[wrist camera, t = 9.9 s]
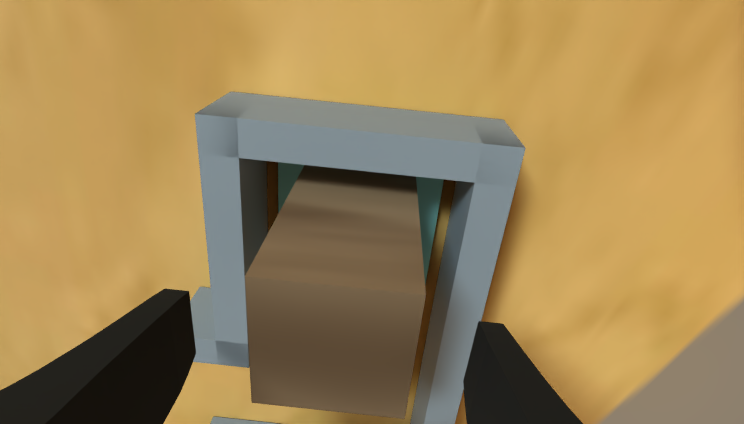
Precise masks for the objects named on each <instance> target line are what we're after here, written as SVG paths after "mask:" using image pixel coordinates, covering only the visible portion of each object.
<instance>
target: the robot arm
mask: <svg viewBox="0 0 744 424" xmlns="http://www.w3.org/2000/svg"><path fill="white" fill-rule="evenodd" d="M195 355H196V347H195V338H194V330H193V321H192V313H191V304H190V296H189V291H182V290H172V289H163V290H162V291H160V292H159V293H157V294H155V295H154V296H152V297H151V298H149V299H148V300H146V301H145V302H143V303H142V304H140V305H139V306H138V307H136V308H135V309H133V310H132V311H130V312H129V313H127V314H126V315H124V316H123V317H121V318H120V319H118V320H117V321H115V322H114V323H112V324H111V325H109V326H108V327H106V328H105V329H103V330H102V331H100V332H99V333H97V334H96V335H94V336H93V337H91V338H90V339H88V340H86V341H85V342H83V343H82V344H80V345H78V346H77V347H75V348H73V349H72V350H70V351H68V352H67V353H65V354H64V355H62V356H60V357H59V358H57V359H55V360H54V361H52V362H50V363H49V364H47V365H45V366H44V367H42V368H41V369H39V370H37V371H35V372H34V373H32V374H30V375H28V376H26V377H25V378H23V379H21V380H19V381H17V382H16V383H14V384H12V385H10V386H8V387H6V388H4V389H2V390H0V424H163V423H164V421H165V419H166V417H167V416H168V414H169V412H170V410H171V408H172V407H173V405H174V403H175V401H176V399H177V397H178V396H179V394H180V392H181V390H182V387H183V385H184V383H185V380H186V378H187V375H188V373H189V370H190V368H191V365H192V363H193V360H194V358H195ZM463 384H464V397H465V409H466V419H467V424H583V423H582V422H581V421H580V420H579V419H578V418H577V417H576V415H575V414H574V413H573V412H572V411H571V410H570V409H569V408H568V406H567V405H566V404H565V403H564V402H563V401H562V399H561V398H560V397H559V396H558V394H557V393H556V392H555V391H554V389H553V388H552V387H551V386H550V385H549V383H548V382H547V381H546V380H545V378H544V377H543V376H542V375H541V373H540V372H539V371H538V369H537V368H536V367H535V366H534V364H533V363H532V362H531V360H530V359H529V358H528V356H527V355H526V354H525V352H524V351H523V350H522V348H521V347H520V346H519V344H518V343H517V342H516V340H515V339H514V338H513V336H512V335H511V334H510V332H509V331H508V330H507V328H506V327H505V326H504V324H500V323H491V322H481V321H478V325H477V329H476V333H475V336H474V340H473V344H472V348H471V352H470V356H469V360H468V364H467V368H466V372H465V376H464V380H463Z"/></svg>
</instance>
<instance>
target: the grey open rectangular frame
mask: <svg viewBox="0 0 744 424" xmlns="http://www.w3.org/2000/svg"><path fill="white" fill-rule="evenodd" d="M195 120H196V131H197V142H198V153H199V164H200V175H201V186H202V197H203V208H204V218H205V229H206V240H207V251H208V262H209V273H210V284H211V288H206V287H199V289H198V290H197V292H196V293H195V295H194V296H193V298H192V299H191V301H190V304H191V313H192V321H193V330H194V338H195V347H196V355H195V358H194V360H193V362H201V363H210V364H219V365H228V366H238V367H247V368H249V367H250V362H249V344H248V326H247V307H246V289H245V275H246V273H247V271H248V269H249V268H250V266H251V264H252V262H253V260H254V258H255V256H256V255H257V253H258V251H259V249H260V247H261V245H262V243H263V242H264V240H265V238H266V236H267V234H268V211H267V161H272V162H282V163H292V164H301V165H311V166H320V167H330V168H339V169H349V170H359V171H368V172H378V173H387V174H397V175H406V176H416V177H426V178H435V179H445V180H454V181H456V185H455V190H454V195H453V201H452V206H451V211H450V216H449V222H448V227H447V232H446V237H445V243H444V248H443V253H442V258H441V264H440V269H439V274H438V280H437V285H436V290H435V295H434V301H433V306H432V311H431V316H430V322H429V327H428V332H427V338H426V343H425V348H424V353H423V359H422V364H421V369H420V374H419V380H418V385H417V390H416V396H415V401H414V406H413V411H412V417H411V422H410V424H455V421H456V417H457V413H458V409H459V405H460V401H461V397H462V393H463V389H464V384H463V380H464V376H465V372H466V368H467V364H468V360H469V356H470V352H471V348H472V344H473V340H474V336H475V333H476V329H477V325H478V321H481V319H482V316H483V312H484V308H485V304H486V300H487V296H488V292H489V288H490V284H491V280H492V277H493V273H494V269H495V265H496V261H497V257H498V253H499V249H500V245H501V242H502V238H503V234H504V230H505V226H506V222H507V218H508V214H509V210H510V206H511V203H512V199H513V195H514V191H515V187H516V183H517V179H518V175H519V171H520V168H521V164H522V160H523V156H524V152H525V147H524V145H523V144H522V143H521V142H520V140H519V139H518V138H517V136H516V135H515V134H514V133H513V131H512V130H511V129H510V127H509V126H508V125H507V124H506V122H505V121H504V120H501V119H491V118H482V117H472V116H462V115H453V114H443V113H433V112H423V111H414V110H404V109H394V108H385V107H375V106H365V105H355V104H346V103H336V102H326V101H317V100H307V99H297V98H287V97H278V96H268V95H258V94H249V93H239V92H229V93H228V94H226V95H224V96H223V97H221V98H220V99H218V100H216V101H215V102H213V103H211V104H210V105H208V106H207V107H205V108H203V109H202V110H200V111H199V112H197V113H195ZM210 424H277V423H268V422H259V421H250V420H241V419H232V418H223V417H213V419H212V421H211V423H210Z"/></svg>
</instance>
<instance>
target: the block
mask: <svg viewBox="0 0 744 424" xmlns="http://www.w3.org/2000/svg"><path fill="white" fill-rule="evenodd" d="M245 289H246V307H247V326H248V344H249V362H250V381H251V399H252V403H260V404H269V405H279V406H288V407H298V408H307V409H316V410H326V411H335V412H345V413H354V414H363V415H373V416H382V417H392V418H401V419H405V414H406V408H407V402H408V396H409V390H410V385H411V379H412V373H413V367H414V361H415V356H416V350H417V344H418V338H419V332H420V327H421V321H422V315H423V309H424V303H425V298H426V290H425V278H424V266H423V254H422V242H421V230H420V218H419V206H418V194H417V183H416V176H406V175H397V174H387V173H378V172H368V171H359V170H349V169H339V168H330V167H320V166H311V165H304V167H303V169H302V171H301V173H300V174H299V176H298V178H297V180H296V182H295V184H294V186H293V187H292V189H291V191H290V193H289V195H288V197H287V199H286V200H285V202H284V204H283V206H282V208H281V210H280V212H279V214H278V215H277V217H276V219H275V221H274V223H273V225H272V227H271V228H270V230H269V232H268V234H267V236H266V238H265V240H264V242H263V243H262V245H261V247H260V249H259V251H258V253H257V255H256V256H255V258H254V260H253V262H252V264H251V266H250V268H249V269H248V271H247V273H246V275H245Z"/></svg>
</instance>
